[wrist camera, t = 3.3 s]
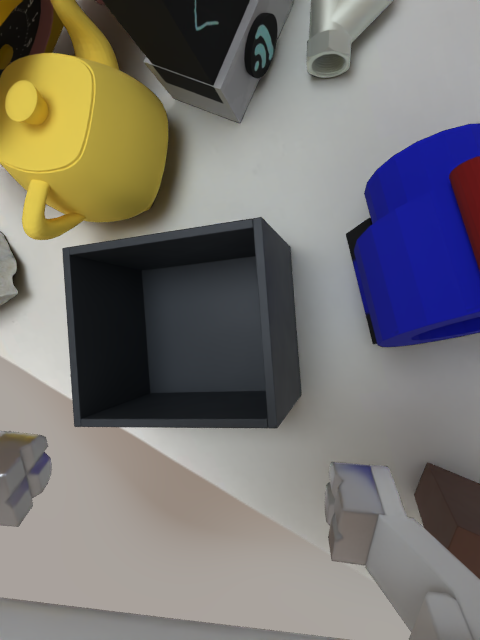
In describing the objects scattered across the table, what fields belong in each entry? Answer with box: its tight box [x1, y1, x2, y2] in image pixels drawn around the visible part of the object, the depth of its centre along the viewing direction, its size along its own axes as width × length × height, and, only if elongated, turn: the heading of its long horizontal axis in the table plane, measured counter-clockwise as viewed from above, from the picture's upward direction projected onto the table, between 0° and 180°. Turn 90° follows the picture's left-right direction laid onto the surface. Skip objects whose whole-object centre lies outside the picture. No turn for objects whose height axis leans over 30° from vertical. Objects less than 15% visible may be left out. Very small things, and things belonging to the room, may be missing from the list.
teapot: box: [0, 0, 168, 240], centre depth 33 cm, size 13×20×12 cm
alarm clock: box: [346, 124, 480, 347], centre depth 24 cm, size 12×12×15 cm
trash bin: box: [62, 217, 301, 428], centre depth 31 cm, size 15×13×11 cm
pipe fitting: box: [307, 0, 393, 78], centre depth 31 cm, size 8×4×7 cm
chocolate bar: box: [414, 463, 480, 579], centre depth 26 cm, size 3×5×10 cm, turn 71°
